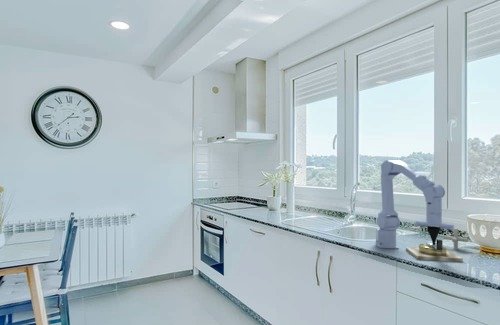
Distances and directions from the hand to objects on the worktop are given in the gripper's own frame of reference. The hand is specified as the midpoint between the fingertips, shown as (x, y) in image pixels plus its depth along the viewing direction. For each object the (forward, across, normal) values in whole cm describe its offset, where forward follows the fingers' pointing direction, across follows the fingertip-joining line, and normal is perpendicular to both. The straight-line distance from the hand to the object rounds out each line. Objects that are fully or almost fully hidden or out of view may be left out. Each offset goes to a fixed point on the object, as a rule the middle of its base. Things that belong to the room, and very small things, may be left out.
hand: (434, 244), depth 136 cm
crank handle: (+5, -1, +6) cm, 8 cm away
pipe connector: (+7, +4, +31) cm, 32 cm away
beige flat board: (+7, -2, +8) cm, 11 cm away
